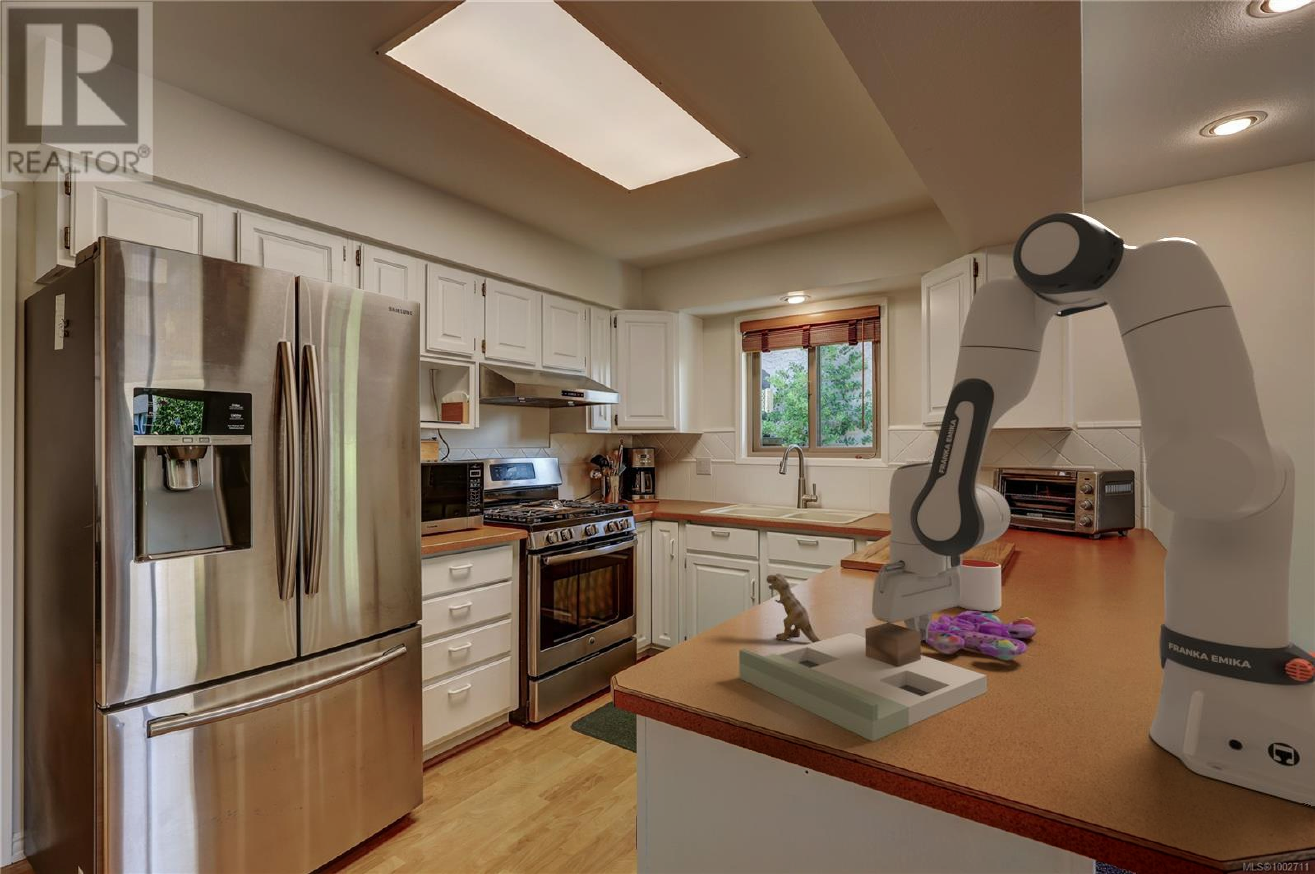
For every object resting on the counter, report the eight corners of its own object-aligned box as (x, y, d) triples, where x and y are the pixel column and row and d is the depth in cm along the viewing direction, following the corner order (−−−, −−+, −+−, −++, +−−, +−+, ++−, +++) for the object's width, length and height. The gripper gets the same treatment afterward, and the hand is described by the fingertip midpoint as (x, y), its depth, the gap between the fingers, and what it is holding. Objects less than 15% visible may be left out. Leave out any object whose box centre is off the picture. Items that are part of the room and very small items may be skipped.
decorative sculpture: (891, 650, 111) (1011, 674, 97) (890, 624, 112) (1008, 644, 97) (956, 623, 130) (1065, 640, 115) (955, 601, 131) (1063, 614, 116)
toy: (749, 601, 124) (776, 564, 121) (820, 661, 118) (851, 624, 115) (738, 612, 117) (767, 573, 115) (813, 676, 112) (845, 637, 109)
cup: (1002, 605, 140) (1002, 561, 140) (1000, 615, 132) (999, 569, 132) (954, 599, 145) (954, 557, 146) (949, 609, 137) (949, 564, 137)
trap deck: (986, 692, 91) (986, 662, 91) (872, 741, 76) (872, 705, 76) (850, 646, 112) (849, 622, 112) (739, 678, 97) (739, 650, 97)
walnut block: (920, 659, 98) (920, 631, 98) (898, 667, 94) (897, 638, 94) (888, 649, 103) (888, 622, 103) (865, 656, 99) (865, 628, 99)
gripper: (895, 568, 94) (896, 657, 94) (968, 554, 106) (969, 634, 105) (862, 561, 100) (862, 646, 99) (934, 549, 111) (935, 625, 111)
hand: (918, 640), depth 102 cm, fingers closed
